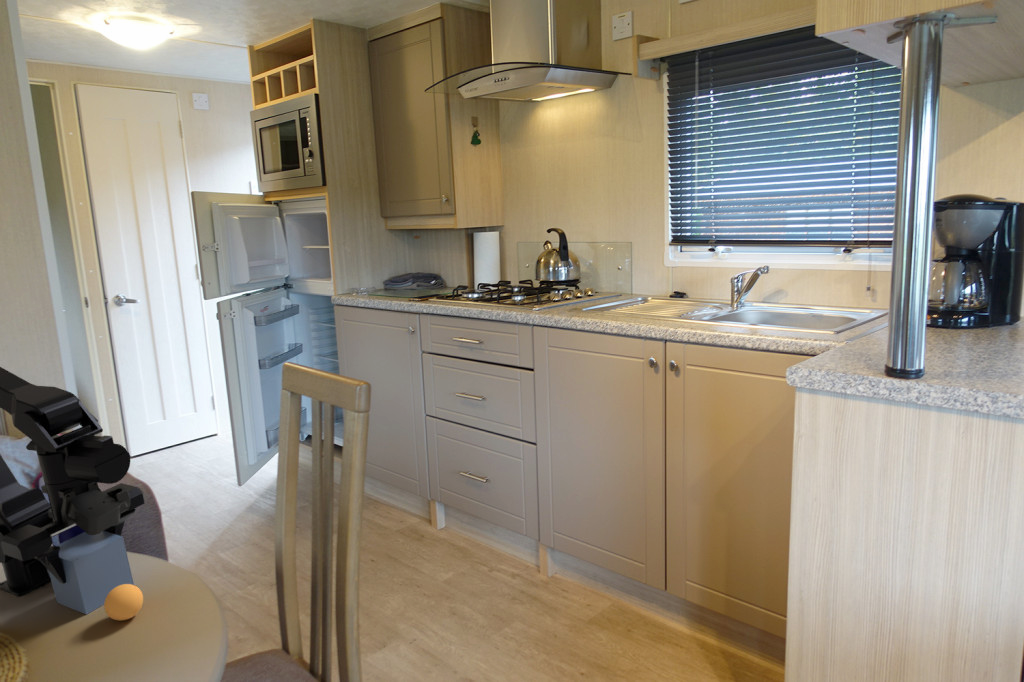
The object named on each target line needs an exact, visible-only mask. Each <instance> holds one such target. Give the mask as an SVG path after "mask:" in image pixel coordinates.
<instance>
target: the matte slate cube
mask: <svg viewBox="0 0 1024 682" xmlns="http://www.w3.org/2000/svg"><path fill="white" fill-rule="evenodd" d="M56 546H58V547H60V551H59V558H60V561H61V563H62V566H63V569H64V572H65V577H66V583H64V584H62V583H60V582H59V581H58V580H57V579H56V578H55V577H54V576H53V574H52V573H51V572H50V571H49V570H48V571H49V574H50V578H51V580H50V581H51V586H52V590H53V593H54V596H55V601H56V603H57V604H60V605H62V606H65V607H67V608H70V609H72V610H73V611H77V612H80V614H81V613H82V614H84V615H88V614H90V613H92V612H93V611H95V610H96V609H98V608H100V607H102V606H104V603H105V599H106V597H107V595H108V594H109V592H110V591H111V590H112V589H114V588H115V587H117V586H119V585H123V584H131V585H134V586H135V583H134V579H133V574H132V571H131V565H130V562H129V557H128V552H127V549H126V543H125V540H124V536H122V535H121V536H119V535H116V534H113V533H109V532H106V531H102V532H101V533H99V534H97V535H88V534H87V533H86V532H83V533H81V534H79V535H77V536H75V537H73V538H71V539H69V540H67V541H65V542H63V543H61V544H59V543H58V544H57V545H56Z"/></svg>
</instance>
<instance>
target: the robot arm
mask: <svg viewBox="0 0 1024 682" xmlns="http://www.w3.org/2000/svg"><path fill="white" fill-rule="evenodd" d="M0 409H2V410H4V411H5V412H6V413H8V414H9V415H10V416H11V419H12V424H13V426H14V428H16V429H17V430H18V431H19V432H21V433H22V434H24V435H25V436H26V437H27V438H29V439H30V441H29V442H28V443H27V444H26V446H25V448H26V449H27V451H32V452H33V451H34V452H35V451H36V455H37V459H38V462H39V466H40V471H41V474H42V479H43V483H44V485H41V486H40V487H41V488H39V487H37V486H35V487H33V488H30V487H29V488H28V487H27V486H24V485H22V484H20V483H19V481H18V479H17V478H16V477H15V475H14V474H13V472H12V470H11V468H10V466H8V463H7V462H6V461H5V459H4V457H3V456H2V455H1V453H0V563H1V566H2V569H3V572H4V576H5V577H4V578H5V579H6V580H4V581H2V582H0V589H1V590H4V592H8V593H10V594H13V595H16V596H18V597H19V596H23V595H25V594H26V593H29V592H30V591H32V590H34V589H36V588H38V587H39V586H42V585H43V584H46V583H48V582H50V581H51V578H50V574H49V571H50V572H51V573H52V574H53V576H54V577H55V578H56V579H57V580H58V581H59V582H60V583H62V584H64V583H66V577H65V572H64V569H63V566H62V563H61V561H60V558H59V551H60V547H58V546H57V545H56V544H55V545H54V543H53V538H54V537H55V536H56V537H57V535H58V534H60V533H62V532H64V531H66V530H68V529H70V528H73V527H75V526H77V525H78V526H79V527H80V528H82V529H83V530H84V531H85V532H86V533H87V534H88V535H97V534H99V533H101V532H102V531H106V532H109V533H113V534H116V535H119V536H122V532H123V528H124V525H125V522H126V521H127V520H128V519H129V518H130V516H131V515H133V514H135V512H137V511H136V509H137V508H138V507H140V506H142V505H145V503H146V501H147V500H146V497H145V496H146V495H145V492H144V491H143V490H142V489H141V488H140V487H138V486H135V485H132V484H126V483H123V482H121V483H119V482H120V481H121V480H122V479H124V478H125V476H126V475H127V474H128V472H129V471H130V470H129V469H130V466H131V454H130V452H128V450H127V449H126V447H125V446H124V445H122V444H119V443H114V438H113V436H112V435H101V436H100V435H98V434H101V433H103V432H104V429H103V427H102V426H101V425H100V424H99V420H98V419H97V417H95V416H94V415H93V414H92V413H91V412H90V411H89V410H88V409H87V407H86V406H85V405H84V403H83V402H82V400H80V399H79V398H78V396H77V395H75V394H74V393H72V392H70V391H68V390H66V389H62V388H59V387H58V386H57V387H56V386H50V385H49V386H48V385H37V384H33V383H31V382H29V381H27V380H25V379H24V378H21V377H19V375H16V374H15V373H13V372H10V371H9V370H7V369H5V368H3V367H2V366H0ZM78 426H81V427H79V428H77V427H78ZM75 428H76V429H75ZM72 429H74V430H72ZM70 430H71V431H70ZM67 431H69V432H67ZM65 432H66V433H65ZM63 433H64V434H63ZM60 434H62V435H60ZM115 483H118V484H116V485H114V486H111V487H109V488H108V489H105V490H101V489H100V487H99V484H108V485H109V484H110V485H111V484H115ZM45 494H46V495H47V498H48V500H47V498H46V497H45ZM53 519H54V521H53ZM48 570H49V571H48Z"/></svg>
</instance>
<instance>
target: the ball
mask: <svg viewBox="0 0 1024 682" xmlns="http://www.w3.org/2000/svg"><path fill="white" fill-rule="evenodd" d="M143 603H144V595H143V591H142V589H140V588H139V587H137V586H136V585H135V584H134V585H131V584H123V585H119V586H117V587H115V588H114V589H112V590H111V591H110V592H109V594H108V595H107V597H106V599H105V603H104V604H103V606H104V610H105V613H106V615H107V616H108V618H109V617H110V618H111V619H113V620H115V621H126V620H130V619H131V618H133V617H135V616H136V615H137V614H138V613H139V612H140V610H141V609H142V607H143Z"/></svg>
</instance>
